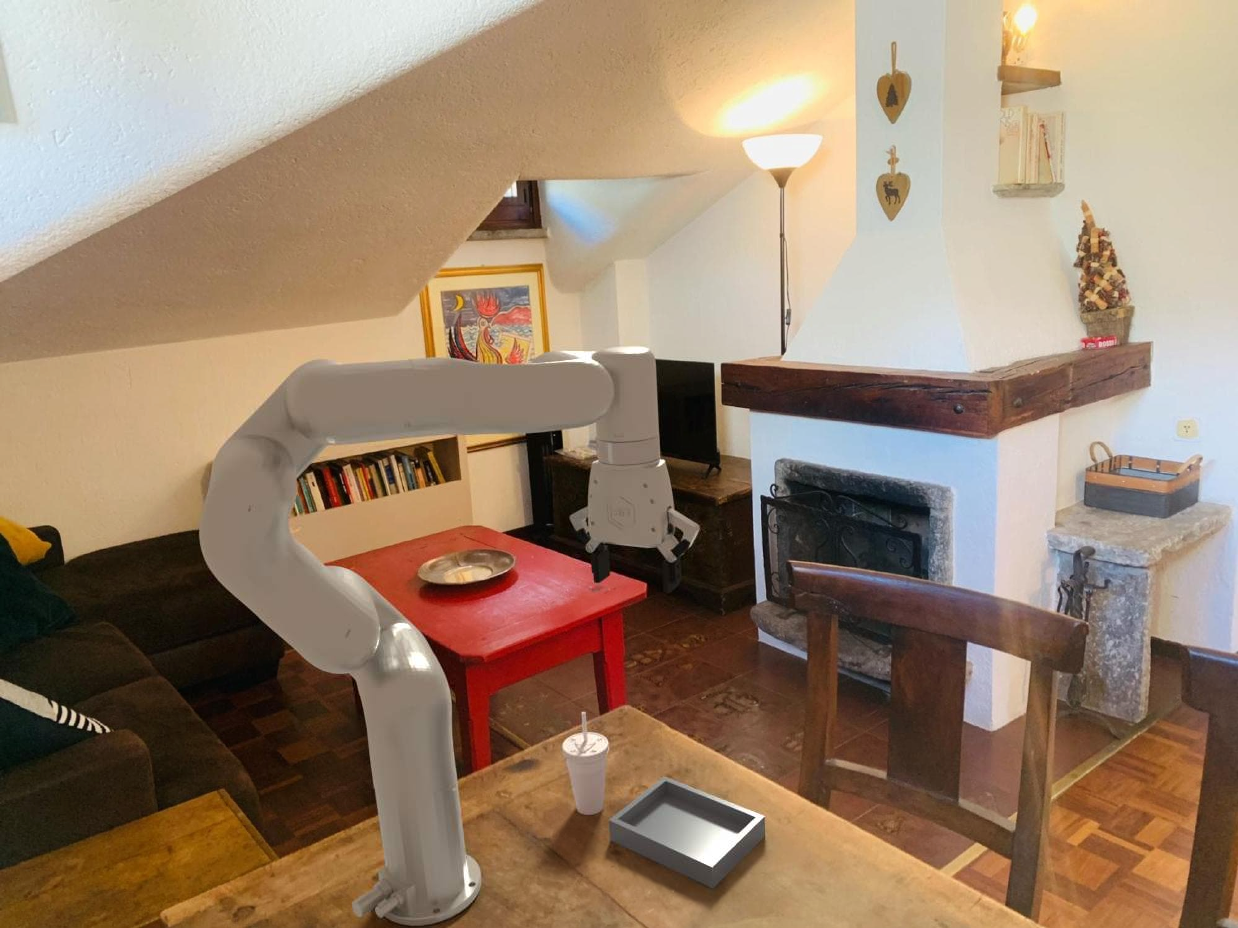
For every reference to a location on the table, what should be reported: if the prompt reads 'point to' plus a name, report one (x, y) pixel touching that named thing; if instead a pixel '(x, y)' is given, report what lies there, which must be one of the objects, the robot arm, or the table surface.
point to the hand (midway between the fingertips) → (636, 583)
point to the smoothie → (587, 768)
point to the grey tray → (688, 830)
